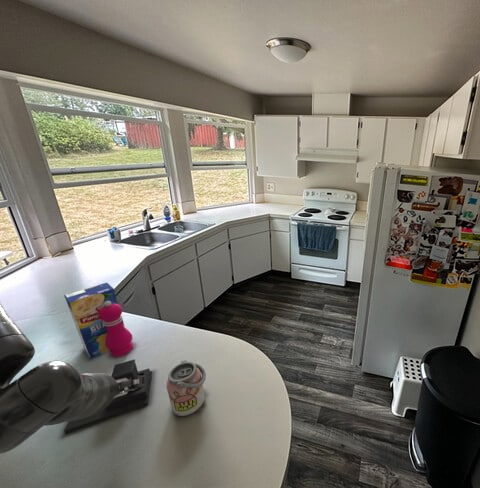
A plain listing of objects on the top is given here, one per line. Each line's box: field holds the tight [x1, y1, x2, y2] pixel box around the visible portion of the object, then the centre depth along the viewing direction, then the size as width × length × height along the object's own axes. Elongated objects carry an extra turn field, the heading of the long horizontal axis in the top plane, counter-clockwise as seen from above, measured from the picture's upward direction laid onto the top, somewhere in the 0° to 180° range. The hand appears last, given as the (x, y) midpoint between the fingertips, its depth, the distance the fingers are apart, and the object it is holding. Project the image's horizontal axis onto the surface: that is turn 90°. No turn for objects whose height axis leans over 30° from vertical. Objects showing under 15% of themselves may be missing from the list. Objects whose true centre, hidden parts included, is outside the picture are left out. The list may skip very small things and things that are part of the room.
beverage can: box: [166, 359, 207, 417], centre depth 68 cm, size 9×8×12 cm
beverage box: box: [63, 282, 126, 360], centre depth 86 cm, size 7×11×22 cm, turn 144°
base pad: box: [63, 368, 153, 434], centre depth 70 cm, size 17×12×4 cm
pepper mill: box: [98, 301, 134, 358], centre depth 84 cm, size 7×7×20 cm
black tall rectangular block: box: [110, 359, 140, 397], centre depth 70 cm, size 5×5×9 cm
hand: (114, 391), depth 60 cm, fingers open, 8 cm apart
